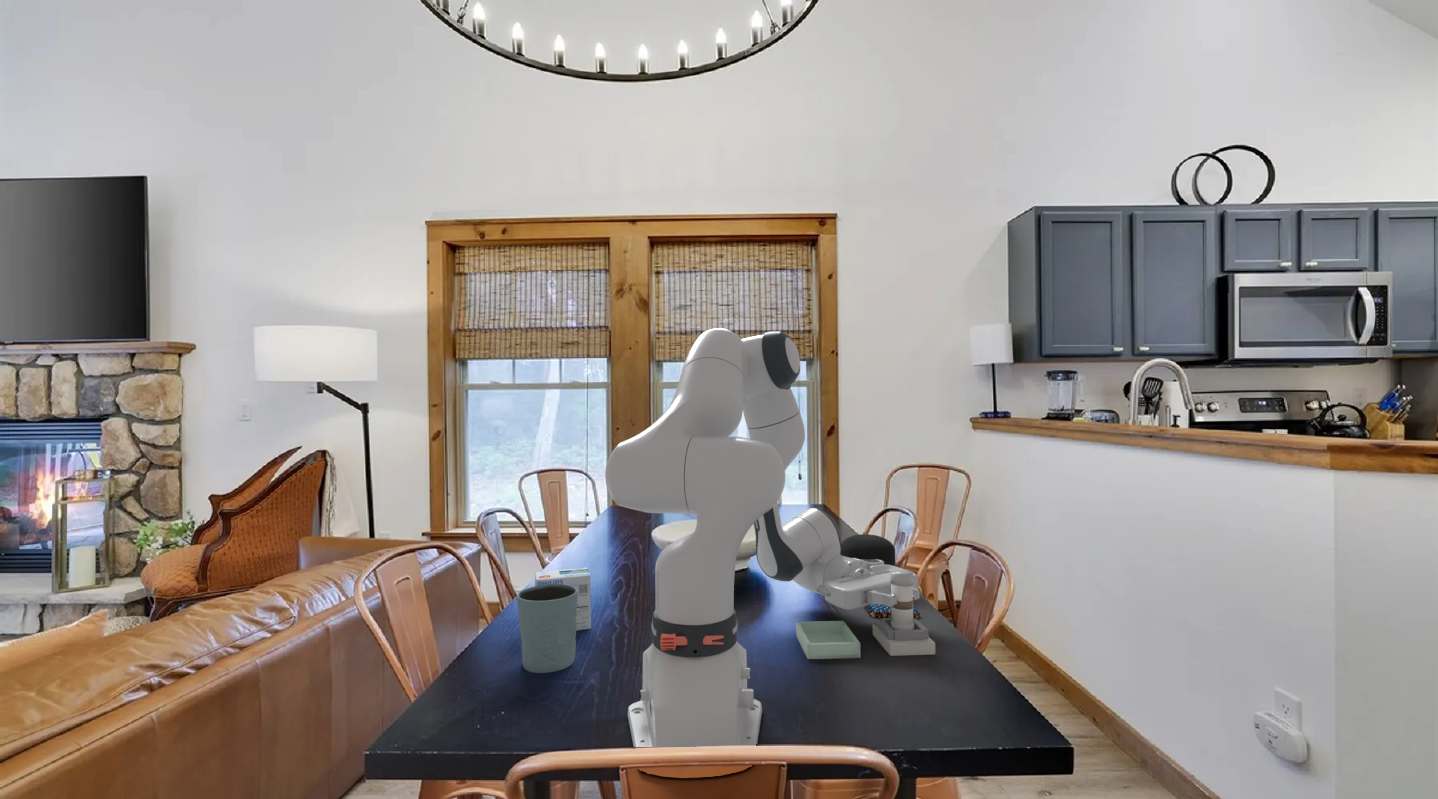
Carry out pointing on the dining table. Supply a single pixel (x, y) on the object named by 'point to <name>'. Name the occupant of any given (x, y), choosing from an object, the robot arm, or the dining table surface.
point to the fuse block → (904, 639)
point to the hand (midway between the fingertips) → (905, 598)
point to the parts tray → (827, 640)
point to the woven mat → (884, 610)
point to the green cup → (548, 627)
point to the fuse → (902, 599)
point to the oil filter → (868, 548)
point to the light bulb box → (578, 580)
